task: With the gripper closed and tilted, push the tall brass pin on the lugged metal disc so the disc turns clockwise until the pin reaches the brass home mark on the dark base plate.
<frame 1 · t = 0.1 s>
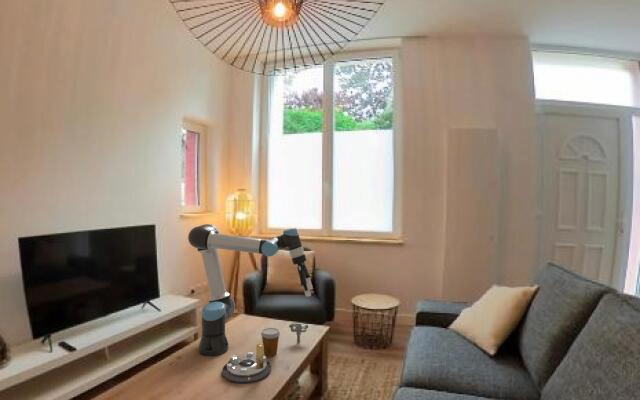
hand: (309, 292, 205), 28 cm above the table, tool tilted 20°, fingers open, 13 cm apart
mechanical component: (298, 342, 206), on the table
disposable coffee cup: (270, 354, 191), on the table
base plate: (246, 371, 174), on the table
lugged metal disc: (247, 354, 173), point 8 cm above the table, hinge at 20.0°
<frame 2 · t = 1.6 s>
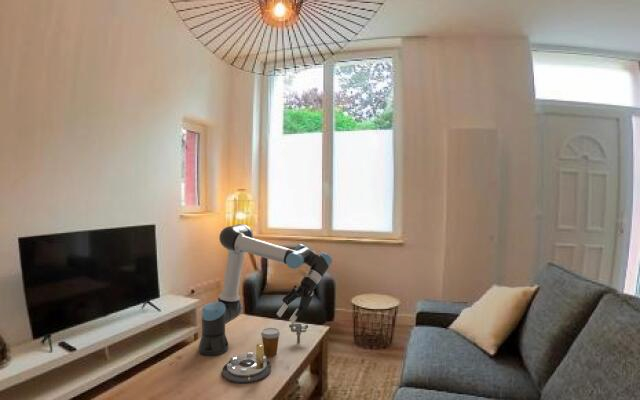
hand: (284, 318, 178), 23 cm above the table, tool tilted 45°, fingers open, 10 cm apart
nothing on the table moved.
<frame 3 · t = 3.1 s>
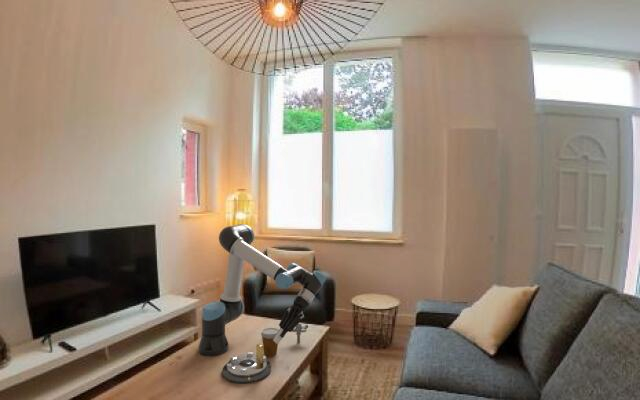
hand: (275, 342, 174), 13 cm above the table, tool tilted 45°, fingers closed
nothing on the table moved.
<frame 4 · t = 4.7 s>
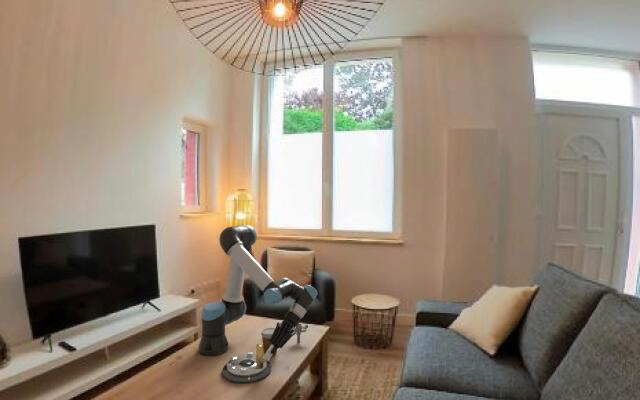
hand: (265, 358, 171), 7 cm above the table, tool tilted 45°, fingers closed
lugged metal disc: (247, 354, 173), point 8 cm above the table, hinge at 19.3°, touching gripper
everything else where it was.
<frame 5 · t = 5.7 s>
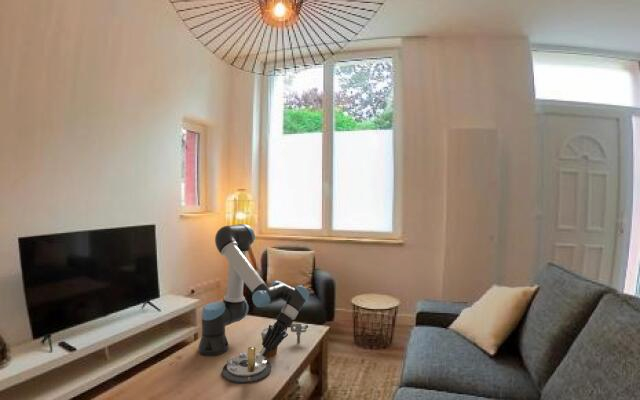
hand: (258, 362, 167), 7 cm above the table, tool tilted 45°, fingers closed
lugged metal disc: (247, 354, 173), point 8 cm above the table, hinge at -15.2°, touching gripper
everything else where it was.
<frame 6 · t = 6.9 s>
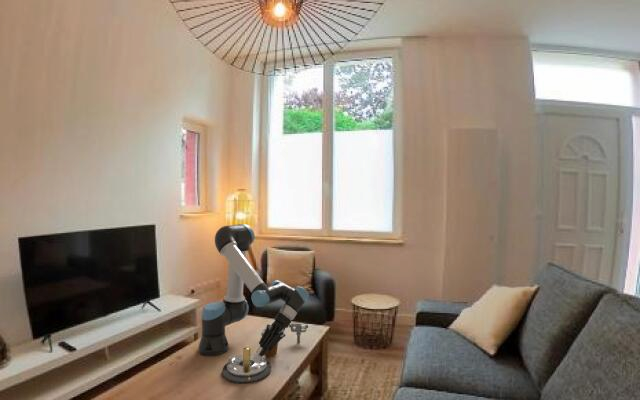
hand: (254, 361, 168), 7 cm above the table, tool tilted 45°, fingers closed
lugged metal disc: (247, 354, 173), point 8 cm above the table, hinge at -31.3°
everything else where it was.
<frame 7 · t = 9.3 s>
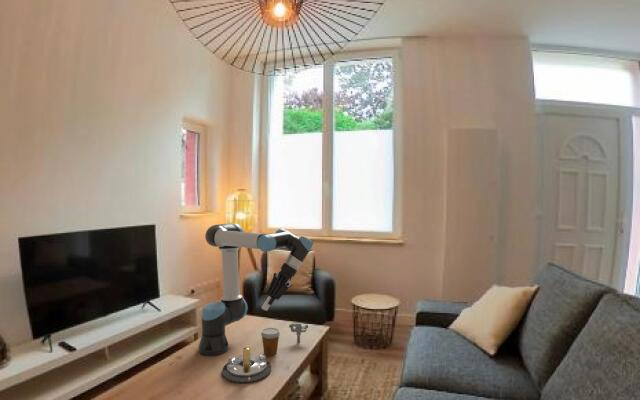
hand: (264, 309, 177), 28 cm above the table, tool tilted 35°, fingers closed
nothing on the table moved.
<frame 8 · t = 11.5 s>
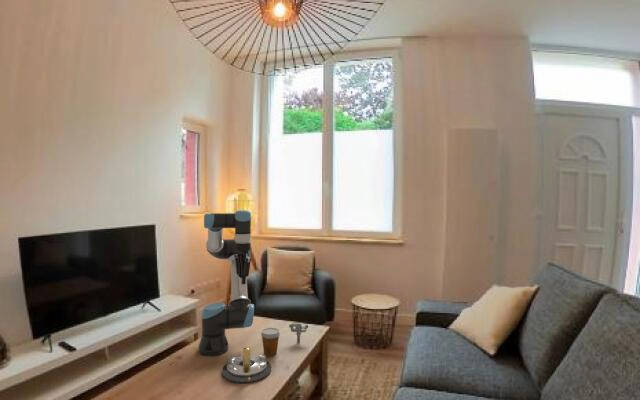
hand: (242, 290, 184), 34 cm above the table, tool pointing down, fingers closed
nothing on the table moved.
at the end: lugged metal disc at -31° (first picture: +20°); disposable coffee cup moved 0.2 cm from its start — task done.
